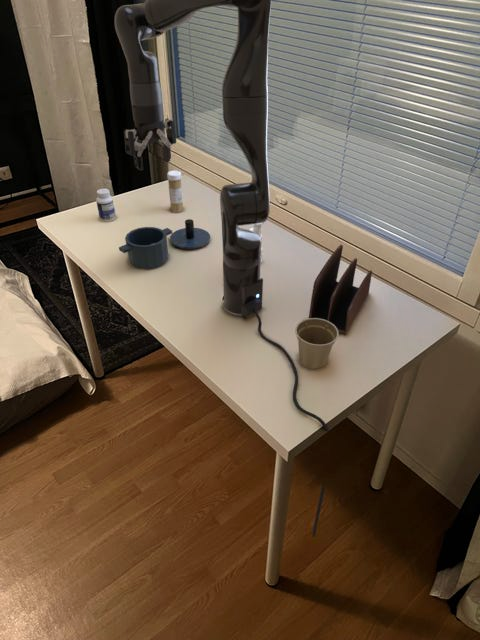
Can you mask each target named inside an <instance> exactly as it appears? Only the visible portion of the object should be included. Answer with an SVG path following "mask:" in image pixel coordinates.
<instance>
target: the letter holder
mask: <svg viewBox="0 0 480 640" xmlns="http://www.w3.org/2000/svg"><path fill="white" fill-rule="evenodd" d="M343 249H344V245H343V244H339V245H338V247H337V248H336V249H335V250H334V251H333V253H332V254H331V255H330V256H329V258H328V259H327V261H326V262H325V264H324V265H323V267H322V268H321V269H320V271H319V272H318V274H317V276H316V277H315V280H314V282H313V287H312V293H311V298H310V299H311V300H310V306H309V312H308V318H319V319H324V320H327V321H329V322H331V323H332V324H333V325H335V326H336V328H337V329H338V332H339V334H340V335H344V336H346V335H347V333H348V332H349V330H350V328H351V327H352V324H353V323H354V321H355V319H356V317H357V316H358V314H359V312H360V310H361V309H362V307H363V305H364V303H365V301H366V299H367V298H368V296H369V294H370V287H371V283H372V282H371V281H372V276H373V270H371V269H369V271H368V272H367V274H366V275H365V277H364V278H363V280H362V281H361V283H360V285H359V287H357V286H354V282H355V281H354V280H355V274H356V269H357V265H358V264H357V263H358V258H357V257H355V258H353V260H352V261H351V262H350V264H349V265H348V267H347V268H346V269H345V271H344V272H343V274H342V275H341V277H340V279H339V281H337V280H338V275H339V269H340V266H341V265H340V264H341V259H342V254H343Z"/></svg>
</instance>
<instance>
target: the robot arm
mask: <svg viewBox="0 0 480 640" xmlns="http://www.w3.org/2000/svg"><path fill="white" fill-rule="evenodd" d="M215 7H227V8H236V9H237V35H236V43H235V46H234V49H233V52H232V54H231V57H230V60H229V62H228V64H227V67H226V70H225V73H224V76H223V81H222V87H221V98H222V100H221V101H222V118H223V122H224V123H223V124H224V125H225V128H226V129H227V131H228V133H229V134H230V136H231V138H232V139H233V140H234V142H235V143H236V145H237V146H238V148H239V149H240V151H241V152H242V154H243V155H244V157H245V159H246V162H247V163H248V167H249V169H250V175H251V182H241V183H230V184H225V185H223V186H222V188H221V189H220V194H219V206H220V219H221V237H222V238H221V240H222V282H223V283H222V285H223V286H222V287H223V289H222V290H223V291H222V292H223V296H222V302H223V309H224V311H225V312H226V313H227V314H229V315H231V316H232V317H236V318H237V317H239V318H243V319H248V318H250V317H251V316H253V315H255V317H256V319H257V322H258V325H257V332H258V334H259V336H260V337H261V338H262V339H263V340H265V341H266V342H268V343H269V344H271V345H273V346H275V347H276V348H278V349H280V350H281V351H282V353H283V354H284V356H285V357H286V358H287V360H288V362H289V363H290V366H291V368H292V370H293V371H292V372H293V374H294V385H293V391H292V400H293V404H294V406H295V408H296V409H297V410H298V411H299V412H301V413H303V414H305V415H307V416H308V417H310V418H313V419H314V420H317V421H318V422H319V423H320V425H322V427H323V429H324V431H325V432H329V428H328V426H327V424H326V422H325V421H324V420H323V419H322V418H321V417H319V416H318V415H316V414H315V413H313V412H311V411H308V410H306V409H304V408H303V407H302V406H301V405H300V404H299V402H298V399H297V391H298V386H299V373H298V371H297V368H296V365H295V362H294V360H293V359H292V357H291V356H290V354H289V352H287V350H286V349H285V348H284V347H283V346H282V345H281V344H279V343H277V342H276V341H273V340H271V339H269V338H268V337H266V336H265V335H264V333H263V332H262V319H261V316H260V314H259V313H258V312H260V311H261V310H262V309H263V295H264V294H263V293H264V292H263V290H264V278H262V276H261V267H262V265H261V264H262V262H261V260H262V253H261V246H262V240H261V239H260V237H259V236H258V235H257V234H256V233H254V232H252V231H250V230H248V229H246V228H242V226H247V225H248V226H250V225H254V224H259V223H263V222H264V223H266V222H267V221H268V219H269V217H270V211H271V200H270V199H271V198H270V197H271V196H270V181H269V180H270V179H269V166H268V165H269V164H268V118H269V117H268V116H269V115H268V114H269V89H268V63H269V62H268V61H269V60H268V59H269V57H268V56H269V32H270V21H271V20H270V19H271V8H272V0H145V2H143V3H134V4H125V5H124V4H123V5H121V6H120V7H118V8H117V10H116V12H115V14H114V29H115V33H116V35H117V38H118V40H119V44H120V45H121V49H122V51H123V54H124V57H125V59H126V63H127V70H128V71H127V72H128V78H129V94H130V103H131V104H130V105H131V112H132V119H133V121H134V128H133V129H127V128H125V129H124V130H123V137H124V138H123V139H124V149H125V153H126V154H127V155H130V156H131V157H133V160H134V163H133V164H134V167H135V169H137V170H138V171H144V170H145V169H144V160H143V155H142V154H143V152H144V150H145V149H146V148H147V146H148V145H151V144H153V143H160V144H161V145H162V146H161V150H162V152H161V153H162V159H163V161H164V162H166V163H169V162H171V159H172V150H171V148H172V145H175V144H176V143H177V135H176V134H177V133H176V126H175V121H174V120H172V119H169V118H165V115H164V107H163V106H164V105H163V103H164V102H163V93H162V86H161V82H160V73H159V72H160V71H159V62H158V57H157V55H156V54H155V53H154V52H152V51H147V50H144V49H143V47H142V44H141V41H147V40H152V39H156V38H158V37H160V36H162V35H164V34H165V33H166V32H167V31H169V30H172V29H174V28H177V27H180V26H183V24H186V23H187V22H189V21H190V20H191V19H192V18H193V17H194V16H195V15H196V13H197V12H198V11H201V10H203V9H208V8H215ZM164 118H165V119H164ZM164 130H165V134H166V135H165V134H164ZM264 223H263V224H264ZM240 226H241V227H240ZM325 490H326V484H324V483H321V489H320V494H319V499H318V504H317V509H316V513H315V519H314V524H313V528H312V535H311V536H312V537H313V538H315V537H316V534H317V528H318V523H319V518H320V514H321V509H322V505H323V500H324V495H325Z"/></svg>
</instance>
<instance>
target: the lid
mask: <svg viewBox="0 0 480 640" xmlns="http://www.w3.org/2000/svg"><path fill="white" fill-rule="evenodd" d="M194 222H195V221H194V220H193V219H191V218H189V219H185V221H184V224H185V225H184V227H183V228H180V229H177V230H175V231H173V232H172V234H170V236H169V241H170V243H171V244H172V245H173V246H174V247H177V248H180V249H185V250H193V249H199V248H203V247H204V246H206V245H208V244H209V242H210V241H211V234H210V233H209V232H208V230H206V229H203V228H200V227H195V224H194Z"/></svg>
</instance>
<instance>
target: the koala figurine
mask: <svg viewBox="0 0 480 640" xmlns="http://www.w3.org/2000/svg"><path fill="white" fill-rule="evenodd" d="M264 223H265V222H263V223H259V224H253V227H249V228H247V230H250V231H252V232H254V233H256V234H257V235H258V236H259V237H260V239H261V241H262V240H263V234H262V226H263V225H264ZM261 254H263V246H262V245H261ZM261 263H263V259H261Z"/></svg>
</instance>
